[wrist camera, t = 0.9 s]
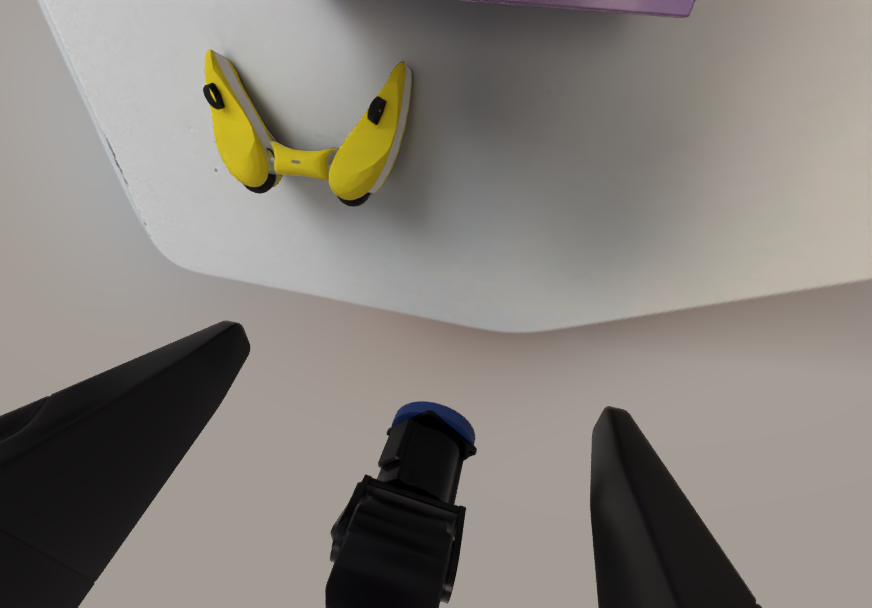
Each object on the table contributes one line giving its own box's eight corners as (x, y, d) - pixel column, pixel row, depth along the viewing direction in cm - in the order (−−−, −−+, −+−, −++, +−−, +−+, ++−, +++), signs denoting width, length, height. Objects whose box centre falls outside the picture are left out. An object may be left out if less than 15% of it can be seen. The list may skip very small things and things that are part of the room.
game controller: (246, 190, 21) (197, 186, 18) (245, 69, 20) (191, 40, 17) (408, 212, 20) (385, 212, 16) (421, 81, 18) (399, 51, 15)
